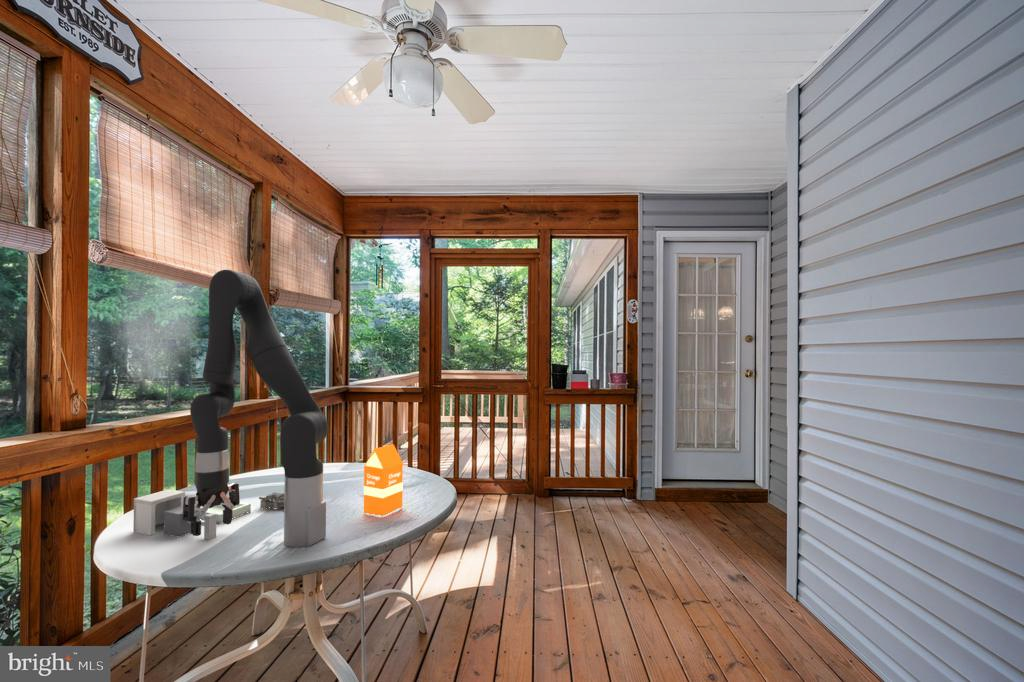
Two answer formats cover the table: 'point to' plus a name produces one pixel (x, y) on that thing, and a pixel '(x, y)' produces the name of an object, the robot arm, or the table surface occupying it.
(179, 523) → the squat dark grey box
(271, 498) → the egg carton
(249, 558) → the table surface
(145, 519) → the bay
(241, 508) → the tray
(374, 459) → the orange juice
